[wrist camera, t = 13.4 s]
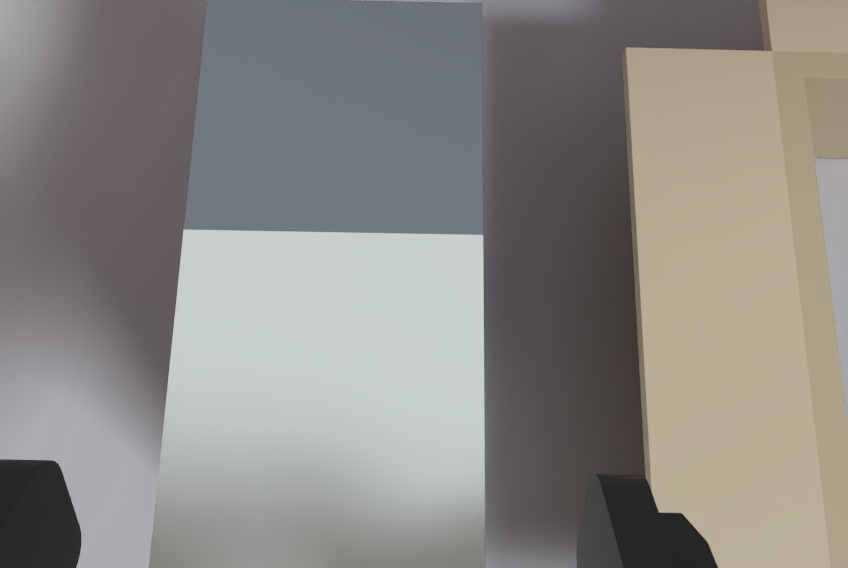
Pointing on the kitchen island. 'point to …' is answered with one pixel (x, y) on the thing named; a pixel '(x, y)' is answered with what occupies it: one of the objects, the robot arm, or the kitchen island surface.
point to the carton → (742, 286)
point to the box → (330, 293)
